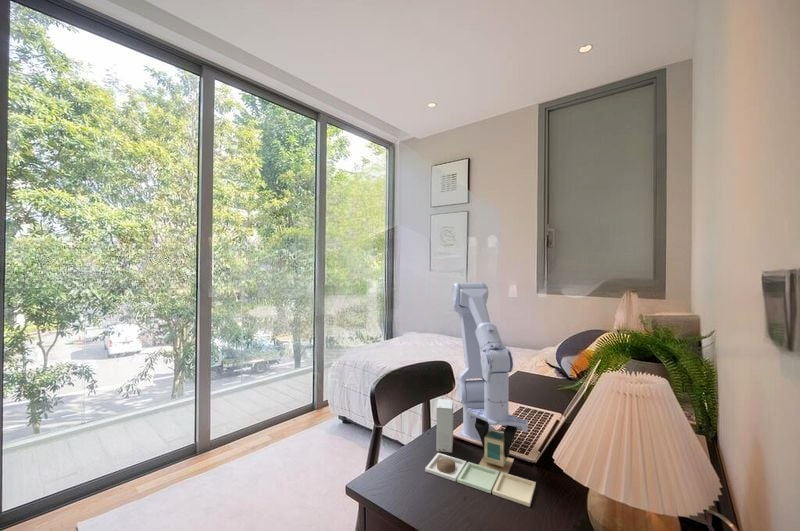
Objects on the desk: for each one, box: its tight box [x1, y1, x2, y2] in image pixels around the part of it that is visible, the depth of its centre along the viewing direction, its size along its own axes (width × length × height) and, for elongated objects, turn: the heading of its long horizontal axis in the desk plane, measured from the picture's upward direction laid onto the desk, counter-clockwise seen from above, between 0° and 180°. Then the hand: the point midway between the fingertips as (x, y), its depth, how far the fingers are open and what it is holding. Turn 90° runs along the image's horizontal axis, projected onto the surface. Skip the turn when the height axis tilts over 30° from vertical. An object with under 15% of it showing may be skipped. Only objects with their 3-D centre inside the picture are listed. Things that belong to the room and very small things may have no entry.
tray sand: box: [491, 472, 537, 508], centre depth 75 cm, size 8×8×1 cm
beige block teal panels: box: [484, 429, 507, 467], centre depth 85 cm, size 5×4×6 cm
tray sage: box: [456, 461, 500, 494], centre depth 79 cm, size 8×8×1 cm
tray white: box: [424, 452, 468, 482], centre depth 83 cm, size 8×8×1 cm
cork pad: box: [478, 453, 515, 474], centre depth 85 cm, size 7×7×1 cm
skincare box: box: [435, 398, 454, 453], centre depth 93 cm, size 6×4×12 cm
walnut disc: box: [437, 458, 455, 473], centre depth 83 cm, size 4×4×1 cm
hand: (496, 452), depth 85 cm, fingers closed on beige block teal panels, 4 cm apart
